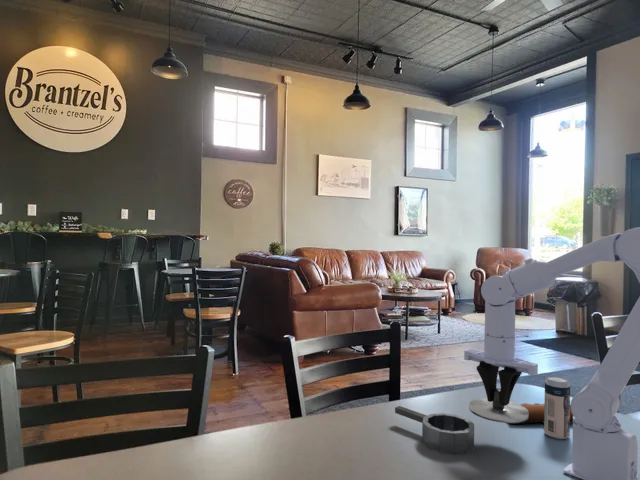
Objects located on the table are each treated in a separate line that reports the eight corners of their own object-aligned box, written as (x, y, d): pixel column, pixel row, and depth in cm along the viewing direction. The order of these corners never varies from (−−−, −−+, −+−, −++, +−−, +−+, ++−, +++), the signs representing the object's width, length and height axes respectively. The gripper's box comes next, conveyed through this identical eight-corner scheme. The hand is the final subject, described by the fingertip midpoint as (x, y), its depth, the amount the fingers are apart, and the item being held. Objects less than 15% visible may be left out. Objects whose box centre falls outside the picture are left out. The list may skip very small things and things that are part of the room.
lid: (538, 413, 91) (539, 391, 91) (511, 427, 83) (512, 404, 83) (486, 398, 99) (487, 378, 99) (458, 409, 92) (458, 388, 92)
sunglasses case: (565, 410, 110) (574, 392, 107) (581, 436, 104) (591, 417, 101) (494, 411, 109) (500, 392, 106) (505, 436, 103) (513, 417, 100)
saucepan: (483, 444, 91) (483, 424, 91) (456, 459, 85) (456, 437, 85) (410, 417, 105) (411, 400, 105) (382, 428, 98) (382, 410, 98)
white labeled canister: (572, 441, 93) (573, 383, 93) (547, 439, 94) (548, 381, 94) (565, 432, 98) (565, 376, 98) (541, 430, 99) (542, 375, 99)
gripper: (456, 331, 94) (455, 396, 94) (526, 344, 83) (525, 418, 83) (474, 327, 99) (473, 390, 99) (542, 339, 88) (541, 409, 88)
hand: (498, 402), depth 91 cm, fingers closed on lid, 2 cm apart
